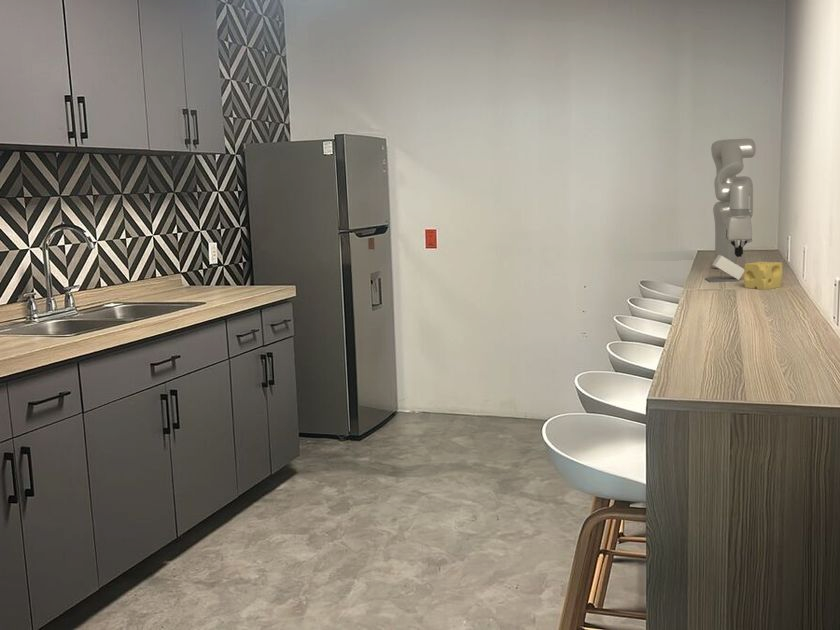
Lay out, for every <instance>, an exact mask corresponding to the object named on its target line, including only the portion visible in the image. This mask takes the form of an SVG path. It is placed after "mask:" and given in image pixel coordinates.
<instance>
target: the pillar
mask: <svg viewBox="0 0 840 630" xmlns="http://www.w3.org/2000/svg"><path fill="white" fill-rule="evenodd" d="M736 264H737V263H736ZM736 264H735V263H733V262H731V261H730V260H728V259H726V258H725V257H723V256H721V255H718V257H717V258H716V260H715V259H714V261H713V263H712V264H711V266H712V265H714V266H716V267H717V268H719V270H721V271H722V272H725V273H726V274H728V275H729V276H731V277H734V278H736V279H738V280H739V281H740V279H741V278H742V277H743V275H744V268H743V267H741V265H740V266H738V265H736ZM717 268H716V269H717Z"/></svg>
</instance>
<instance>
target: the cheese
mask: <svg viewBox="0 0 840 630" xmlns="http://www.w3.org/2000/svg"><path fill="white" fill-rule="evenodd" d="M743 269H744V274H743V275H744V278H743V279H744V280H743V283H744V288H747V289H757V290H761V291H765V290H771V289H778V288H779V287H780V288H781V286H782V282H783V275H784V274H783V273H784V272H783V263H782V262H780V261H779V262H778V261H776V262H775V261H773V262H772V261H756V262H749V263H744V268H743Z"/></svg>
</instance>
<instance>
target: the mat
mask: <svg viewBox="0 0 840 630" xmlns="http://www.w3.org/2000/svg"><path fill="white" fill-rule="evenodd" d="M704 280H705V281H707V282H709V283H725V282H726V283H727V282H730V283H731V282H740V280H738V279H736V278H734V277H732V276H731V277H730V276H729V277H728V276H727V277H706V278H704Z"/></svg>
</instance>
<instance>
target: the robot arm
mask: <svg viewBox="0 0 840 630" xmlns="http://www.w3.org/2000/svg"><path fill="white" fill-rule="evenodd" d="M710 148H711V149H710V151H711V156H712V160H713V162H714V165H715V170H716V175H715V179H714V193H715V194H714V195H715V198H716V199H717V200H718V201H717V202H715V203H714V204H713V210H712V213H713V219H714V232H715V237H714V238H715V239H714V257H715V258H714V261H715V260H716V258H717V257H718V255H721V256H723V257H725V258H726V259H728V260H730V261H731V262H733V263H735V264H736V265H738V266H740V267H741V265H740V264H739V263H737V258H739V257H740V258H741V257H742V255H743V254H744V247H745V246H746V245H747V244H749V243H752V242H753V239H752V238H753V228H752V227H753V225H752V220H751V218H752V217H753V215H754V187H753V185H754V184H753V180H752V178H751V177H749V176H746V175H745V176H741V175H739V174H740V173H742V172H743V170H744V166H745V165H744V159H749V158H754V157H755V155H756V151H757V147H756V143H755V141H754V139H753V138H736V139H735V138H734V139H733V138H731V139H730V138H729V139H720V140H716V141H714V142H713V143H712V144H711V146H710ZM737 175H739V176H737ZM711 268H712V269H719V268H717V267H716V266H714V265H712V264H711ZM719 270H720V269H719Z"/></svg>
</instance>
